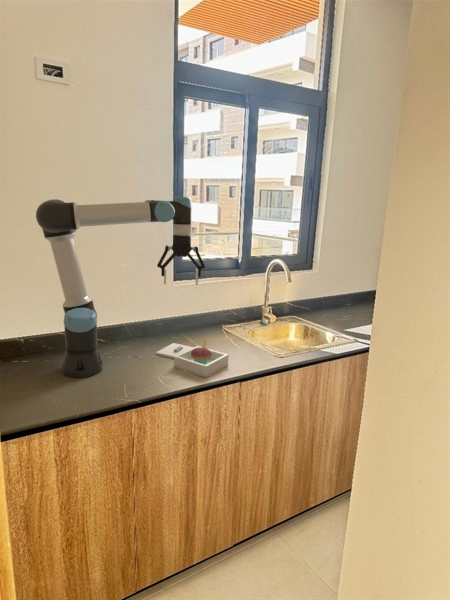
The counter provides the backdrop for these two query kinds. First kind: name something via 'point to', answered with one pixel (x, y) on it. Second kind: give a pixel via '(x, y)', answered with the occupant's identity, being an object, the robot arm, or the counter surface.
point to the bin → (189, 365)
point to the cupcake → (201, 354)
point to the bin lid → (173, 350)
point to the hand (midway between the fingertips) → (180, 284)
